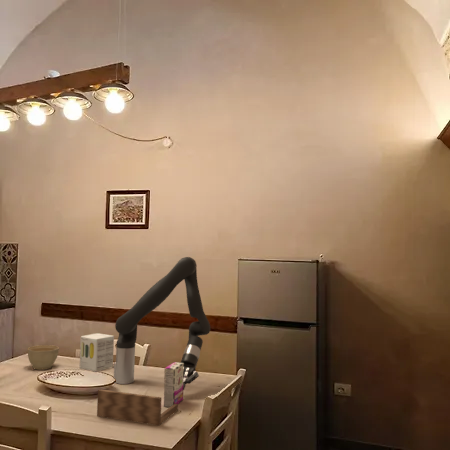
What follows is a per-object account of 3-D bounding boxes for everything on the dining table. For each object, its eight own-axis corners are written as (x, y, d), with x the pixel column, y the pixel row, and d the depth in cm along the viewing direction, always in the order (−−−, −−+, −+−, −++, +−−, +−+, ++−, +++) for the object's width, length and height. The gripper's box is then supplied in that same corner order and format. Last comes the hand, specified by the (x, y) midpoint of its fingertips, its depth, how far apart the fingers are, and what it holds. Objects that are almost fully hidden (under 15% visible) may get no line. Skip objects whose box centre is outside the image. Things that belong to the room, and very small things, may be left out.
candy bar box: (172, 398, 209) (174, 361, 209) (183, 400, 207) (184, 362, 208) (162, 406, 198) (164, 367, 199) (173, 408, 196) (175, 368, 197)
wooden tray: (96, 415, 185) (98, 390, 186) (120, 402, 202) (121, 378, 203) (158, 425, 177) (159, 398, 178) (177, 410, 194) (178, 385, 195)
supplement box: (78, 368, 257) (79, 336, 258) (96, 363, 268) (97, 332, 269) (95, 372, 250) (96, 339, 251) (113, 367, 261) (114, 335, 262)
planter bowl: (51, 372, 247) (52, 351, 248) (21, 371, 247) (22, 350, 248) (62, 364, 263) (63, 345, 264) (34, 363, 263) (35, 344, 264)
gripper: (175, 351, 220) (164, 384, 208) (202, 353, 216) (191, 388, 204) (179, 360, 225) (168, 393, 213) (205, 362, 221) (195, 396, 209)
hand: (180, 390), depth 208 cm, fingers closed
